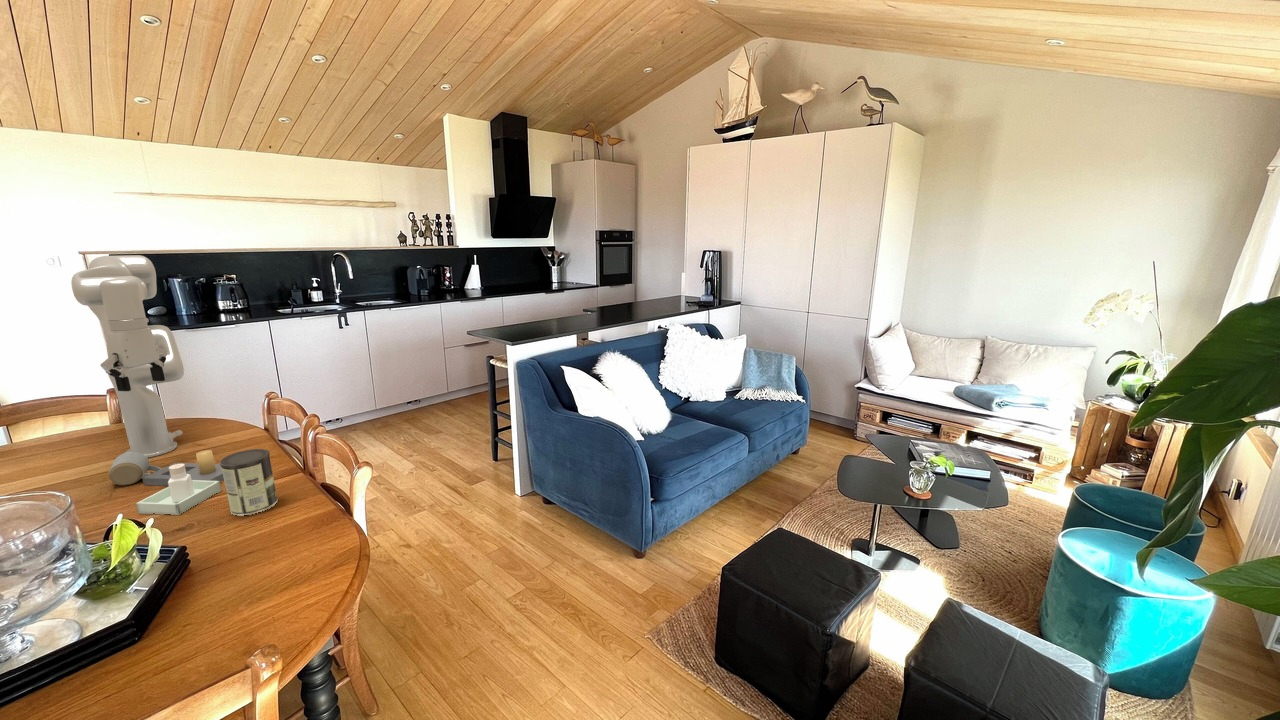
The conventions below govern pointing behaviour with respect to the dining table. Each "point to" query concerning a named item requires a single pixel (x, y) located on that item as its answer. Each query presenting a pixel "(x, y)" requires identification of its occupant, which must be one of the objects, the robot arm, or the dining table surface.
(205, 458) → the socket block
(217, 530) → the dining table surface
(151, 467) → the ceramic mug
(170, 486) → the small white bottle
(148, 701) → the dining table surface
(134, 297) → the robot arm
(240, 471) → the coffee can
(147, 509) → the tray
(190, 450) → the dining table surface
